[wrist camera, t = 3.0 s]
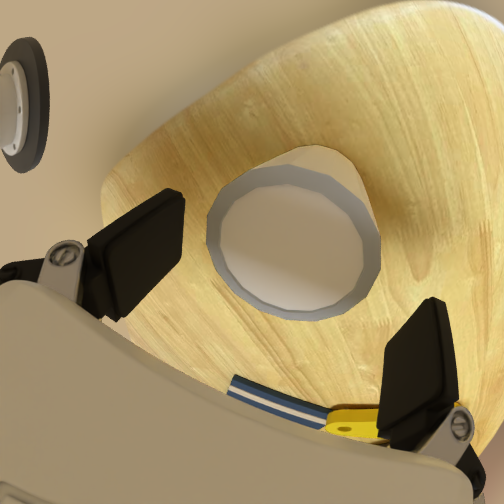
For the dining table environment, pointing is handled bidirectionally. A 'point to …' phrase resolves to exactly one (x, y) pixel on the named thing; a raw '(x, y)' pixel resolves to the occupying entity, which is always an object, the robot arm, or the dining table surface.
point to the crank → (355, 422)
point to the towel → (278, 403)
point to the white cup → (297, 235)
